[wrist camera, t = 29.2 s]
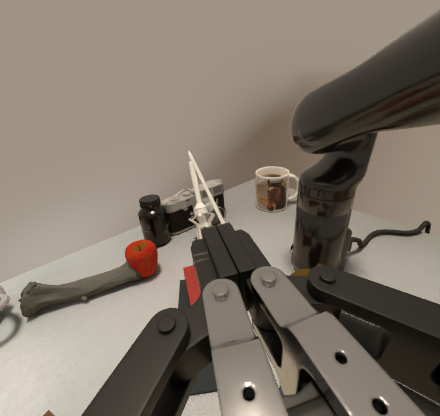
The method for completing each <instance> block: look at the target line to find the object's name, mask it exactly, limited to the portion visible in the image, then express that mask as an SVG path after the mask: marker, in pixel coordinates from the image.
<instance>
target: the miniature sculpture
mask: <svg viewBox="0 0 440 416" xmlns="http://www.w3.org/2000/svg"><path fill="white" fill-rule="evenodd" d="M188 155H189V157H190V159H191V161H190V162H189V168H190V173H191V177H192V182H193V187H194V192H195V197H196V202H197V204H196V206H195V208H194V210H193V211H194V213H195V215H196V216H198V220H199V224H198V223H197V222H196V221H194V219H195V217H196V216H195V215H194V216H195V217H194V218H192V217H191V218H192V219H189V220H190V221H191V222H193V223H194V224H195V225H196V230H197V228H198V230H199V236H198V232H197V238H198V240H199V239H202V235H201V230H200V228H201V229H203V227H206V228H207V227H210V226H212V224H211V222H212V220H213V218H214V216H215V214H214V213H208V210H207V208H208V206H209V205H211V204H212V205H213V207H214V209H215V211H216V213H217V215H218V218H219V220H220V222H221V224H224V223H225V222H224V220H223V218H222V216H221V214H220V211H219V209H218V207H217V205H216V203H215V201H214V199H213V197H212V195H211V193H210V191H209V189H208V187H207V185H206V183H205V181H204V179H203V177H202V175H201V173H200V170H199V168H198V166H197V164H196V162H195V160H194V158H193V156H192V154H191V153H190V152H189V151H188ZM195 169H196V171H197V173H198V176H199V178H200V180H201V182H202V184H203V186H204V188H205V190H206V192H207V194H208V197H209V199H210V201H211V202H210V203H209V204H208V205H206V206H205V205H204V204H203V203H202V200H201V196H200V191H199V186H198V182H197V177H196V172H195ZM207 213H208V214H211V216H210V218H209V220H208V221H207V220H206V217H205V216H204V214H207ZM201 215H202V216H201Z"/></svg>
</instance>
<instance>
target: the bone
mask: <svg viewBox="0 0 440 416" xmlns="http://www.w3.org/2000/svg"><path fill="white" fill-rule="evenodd" d="M140 276H141V275H140V273H139V272H137V271H136V270H134V269H133V268H131V266H130V265H129V263H128V262H126V263H125V264H124V265H122V266H120V267H118V268H116V269H113V270H111V271H108V272H105V273H102V274H98V275H95V276H92V277H87V278H84V279H80V280H78V281H75V282H71V283H67V284H62V285H46V284H41V283H36V282H30V283H29V284H28V285H27V286H26V287H25V288H24V289H23V291H22V293H21V299H19V300H18V301H20V302H21V305H20V309H21V311H22V315H23V316H24V317H29V316H31V315H33V314H35V313H36V312H37V311H38V310H39V309H41V308H43V307H46V306H49V305H53V304H57V303H62V302H68V301H72V300H77V299H80V298H81V300H87V297H88V296H91V295H94V294H97V293H100V292H102V291H105V290H107V289H110V288H112V287H115V286H117V285H120V284H123V283H126V282H130V281H135V280H136V281H137V280H140V279H141V277H140Z"/></svg>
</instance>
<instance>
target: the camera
mask: <svg viewBox="0 0 440 416" xmlns="http://www.w3.org/2000/svg"><path fill="white" fill-rule="evenodd" d="M205 183H206V185H207V187H208V189H209V191H210V193H211V195H212V197H213V199H214V201H215V203H216V205H217V207H218V209H219V211H220V214H221V216H222V218H223V220H224V218H225V208H224V196H223V193H224V187H223V183H222V181H221V180H219V179H218V180H210V181H207V182H205ZM198 186H199V191H200V196H201V200H202V203H203V204H204V205H205V206H206V205H208V204H209V203H210V202H211V201H210V199H209V197H208V194H207V192H206V190H205V188H204V186H203V184H198ZM184 191H185V189H182V190H181V191H179V192H178V193H176V194H175V195H174V196H172V197H170V198H167V199H164V200H163V201H162V202H161V205H163V206H164V207H165V208H166V212H167V217H168V222H169V227H170V233H171V235H177V234H180V233H182V232H184V231H186V230H189V229H191V228H193V227H195V226H196V225H195V224H194V223H193V222H191V221H190V220H189V219H192V218H194V217H195V216H196V215H195V213H194V211H193V210H194V208H195V206H196V204H197V202H196V197H195V192H194V188H192V189H189V188H187V191H185V192H184ZM207 210H208V213H214V214H215V216H214V218H213V220H212V222H211V224H212V226H216V225H220V224H221V222H220V220H219V218H218V215H217V213H216V211H215V209H214V207H213V205H212V204H211V205H209V206H208V208H207ZM208 213H207V214H204V216H205V217H206V220H207V221H208V220H209V218H210V216H211V214H208ZM194 215H195V216H194ZM201 216H202V215H201ZM191 217H192V218H191ZM194 221H196V222H197V223H198V224H199V220H198V216H196V217H195V219H194Z"/></svg>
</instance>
